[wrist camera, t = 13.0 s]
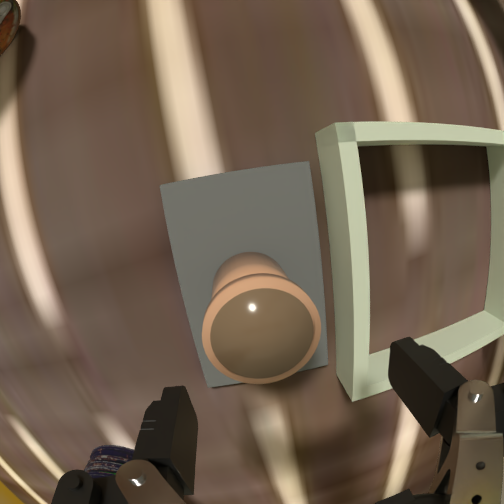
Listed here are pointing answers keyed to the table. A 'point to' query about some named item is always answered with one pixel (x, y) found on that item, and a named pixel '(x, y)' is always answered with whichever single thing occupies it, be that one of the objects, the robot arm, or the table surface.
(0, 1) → the tin
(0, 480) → the table surface
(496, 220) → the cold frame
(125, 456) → the storage jar
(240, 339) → the pot
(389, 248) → the table surface
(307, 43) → the table surface
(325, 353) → the slate mat
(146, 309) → the table surface
